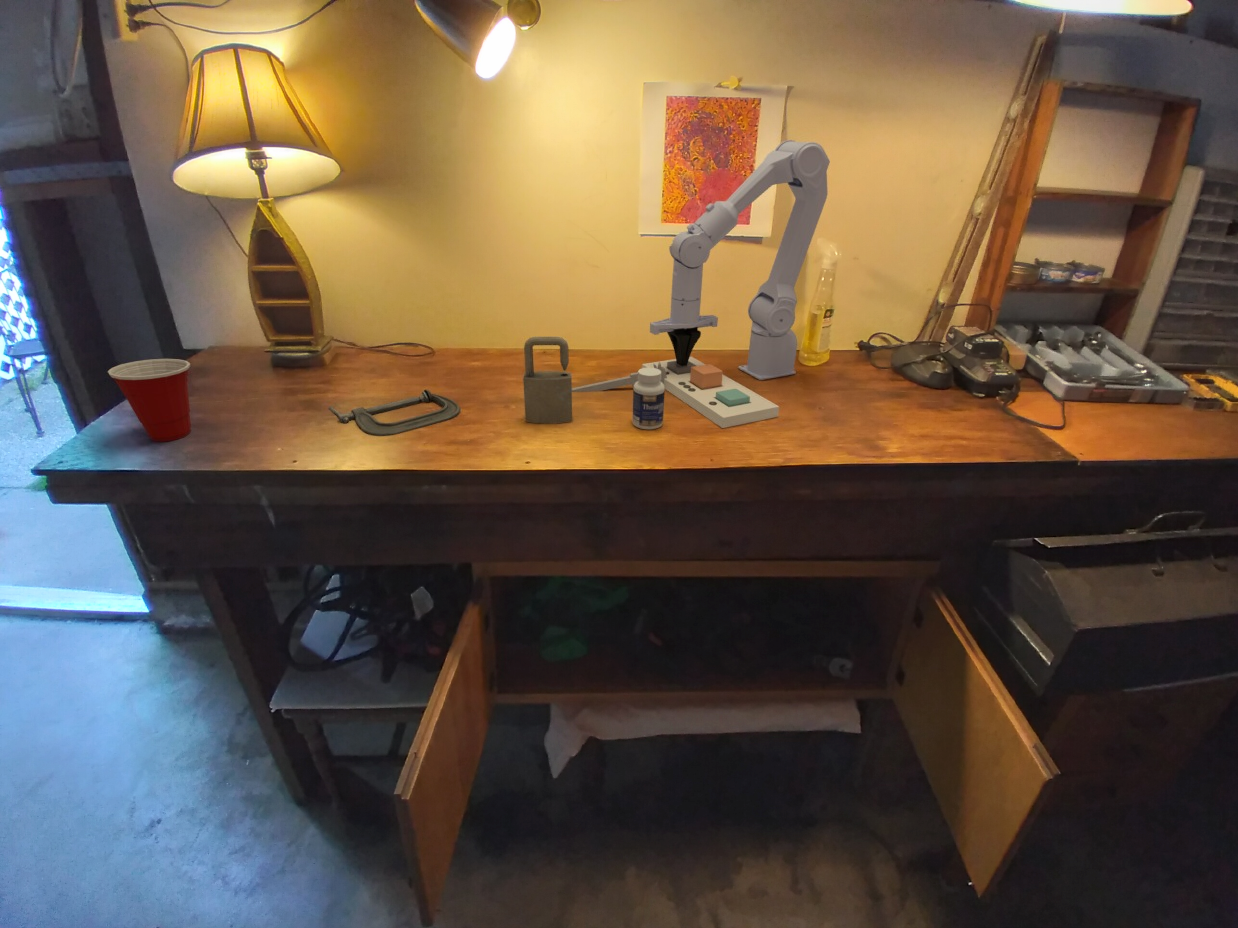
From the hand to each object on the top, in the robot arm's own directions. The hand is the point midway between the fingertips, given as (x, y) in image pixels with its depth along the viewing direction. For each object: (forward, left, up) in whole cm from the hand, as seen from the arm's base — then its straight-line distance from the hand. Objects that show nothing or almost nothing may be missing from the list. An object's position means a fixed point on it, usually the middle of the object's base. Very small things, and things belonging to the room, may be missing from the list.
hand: (681, 364), depth 134 cm
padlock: (+32, +8, -3) cm, 33 cm away
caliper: (+15, 0, -4) cm, 16 cm away
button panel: (0, +9, -3) cm, 9 cm away
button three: (0, +9, -1) cm, 9 cm away
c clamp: (+56, -6, -4) cm, 56 cm away
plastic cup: (+91, -12, -3) cm, 92 cm away
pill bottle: (+17, +17, -3) cm, 24 cm away
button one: (0, +18, -3) cm, 18 cm away
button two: (0, 0, -3) cm, 3 cm away
